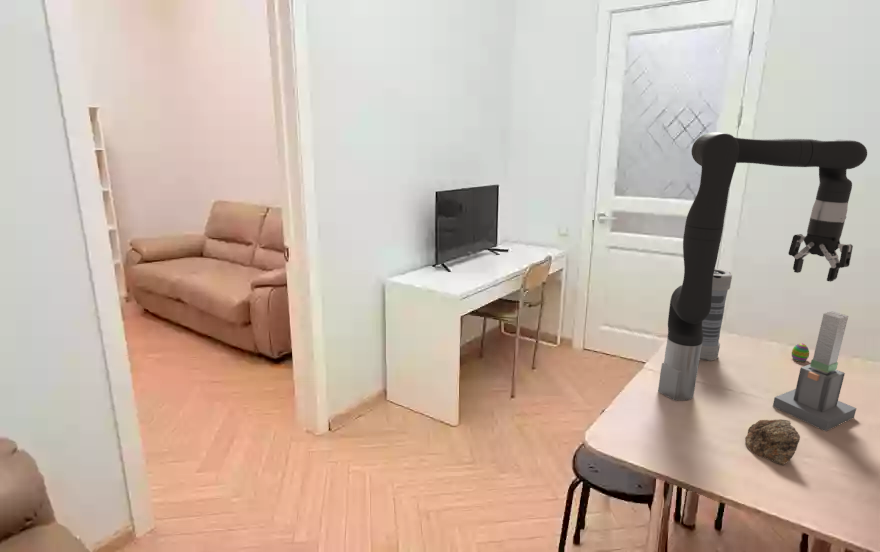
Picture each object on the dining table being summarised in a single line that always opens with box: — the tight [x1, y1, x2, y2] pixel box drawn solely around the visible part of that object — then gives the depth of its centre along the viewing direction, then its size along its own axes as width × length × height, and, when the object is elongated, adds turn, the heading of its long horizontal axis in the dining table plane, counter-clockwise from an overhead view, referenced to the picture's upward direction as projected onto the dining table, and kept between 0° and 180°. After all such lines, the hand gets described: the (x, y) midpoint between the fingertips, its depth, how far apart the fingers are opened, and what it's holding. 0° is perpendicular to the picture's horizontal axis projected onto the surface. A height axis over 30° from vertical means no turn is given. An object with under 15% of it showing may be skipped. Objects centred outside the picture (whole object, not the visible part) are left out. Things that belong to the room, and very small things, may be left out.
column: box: [810, 311, 849, 376], centre depth 144 cm, size 4×4×20 cm
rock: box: [744, 419, 801, 466], centre depth 132 cm, size 14×9×10 cm
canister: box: [699, 268, 733, 361], centre depth 180 cm, size 10×10×30 cm
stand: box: [772, 363, 857, 432], centre depth 147 cm, size 14×14×13 cm
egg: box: [791, 342, 810, 363], centre depth 180 cm, size 5×5×6 cm
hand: (813, 276), depth 145 cm, fingers open, 8 cm apart
